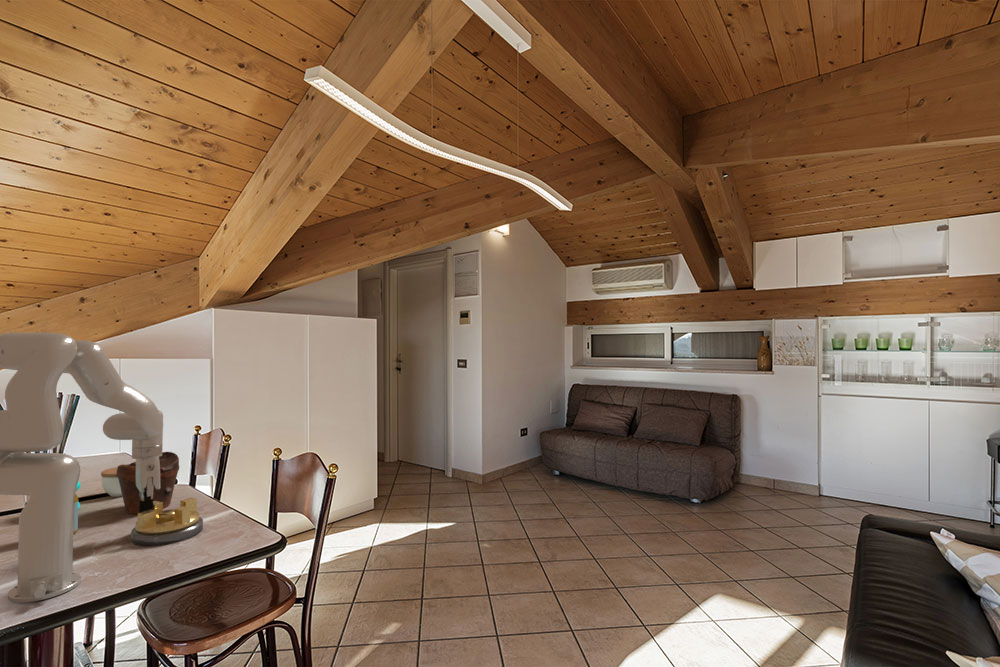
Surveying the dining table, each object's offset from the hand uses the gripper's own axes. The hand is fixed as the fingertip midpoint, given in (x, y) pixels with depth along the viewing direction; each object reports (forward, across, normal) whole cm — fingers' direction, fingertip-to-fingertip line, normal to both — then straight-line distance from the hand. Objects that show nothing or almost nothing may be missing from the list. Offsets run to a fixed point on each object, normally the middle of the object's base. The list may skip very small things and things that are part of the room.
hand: (145, 512), depth 149 cm
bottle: (+7, +16, +18) cm, 25 cm away
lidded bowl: (+7, +54, -1) cm, 55 cm away
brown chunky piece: (+7, +28, -5) cm, 30 cm away
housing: (+6, -4, -5) cm, 9 cm away
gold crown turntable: (+4, -4, -5) cm, 7 cm away
